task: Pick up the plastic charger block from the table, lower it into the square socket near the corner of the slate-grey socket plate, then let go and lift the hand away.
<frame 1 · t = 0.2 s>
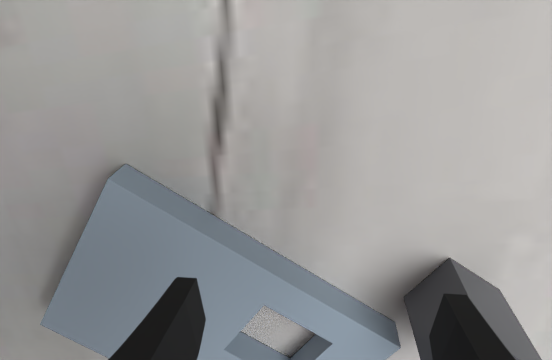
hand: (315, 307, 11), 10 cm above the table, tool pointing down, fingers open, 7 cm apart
socket plate: (217, 312, 26), on the table
charger block: (450, 293, 23), on the table
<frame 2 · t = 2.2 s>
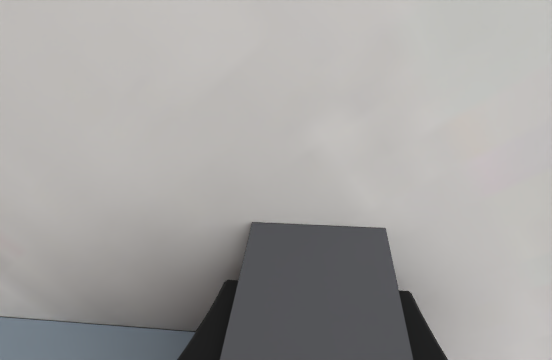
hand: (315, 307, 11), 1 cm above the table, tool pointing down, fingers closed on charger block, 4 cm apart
charger block: (315, 270, 12), on the table, touching gripper
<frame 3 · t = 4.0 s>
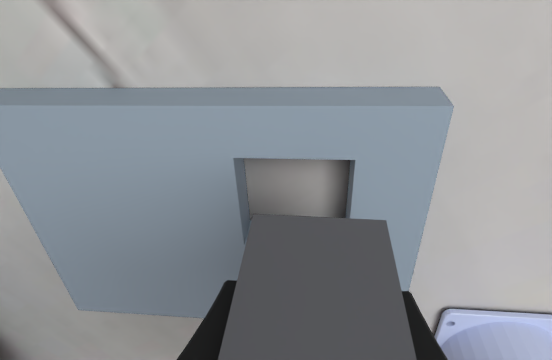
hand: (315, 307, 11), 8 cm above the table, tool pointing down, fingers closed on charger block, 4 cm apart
socket plate: (224, 210, 20), on the table
charger block: (316, 263, 12), point 7 cm above the table, touching gripper
when the fingers open (3 cm above the table, at t = 5.7 s): charger block drops 1 cm, resting in socket plate.
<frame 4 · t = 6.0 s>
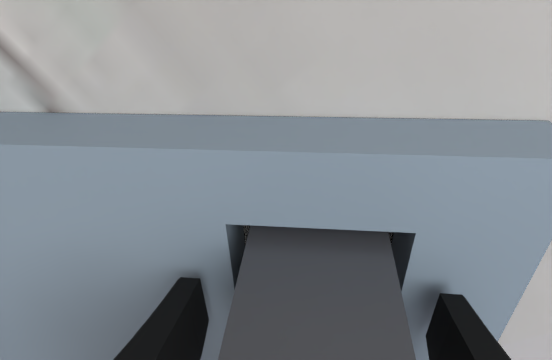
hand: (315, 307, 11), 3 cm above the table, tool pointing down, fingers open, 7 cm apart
socket plate: (214, 276, 15), on the table
charger block: (316, 240, 13), resting in socket plate
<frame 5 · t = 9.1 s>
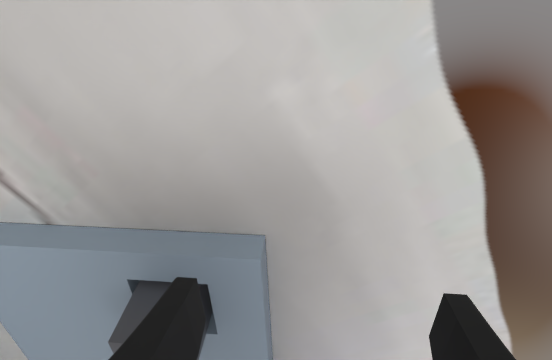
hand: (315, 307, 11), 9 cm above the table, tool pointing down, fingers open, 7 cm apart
socket plate: (136, 298, 27), on the table
charger block: (183, 281, 26), resting in socket plate
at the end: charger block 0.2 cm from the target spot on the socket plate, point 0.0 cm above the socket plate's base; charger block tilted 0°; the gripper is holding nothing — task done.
